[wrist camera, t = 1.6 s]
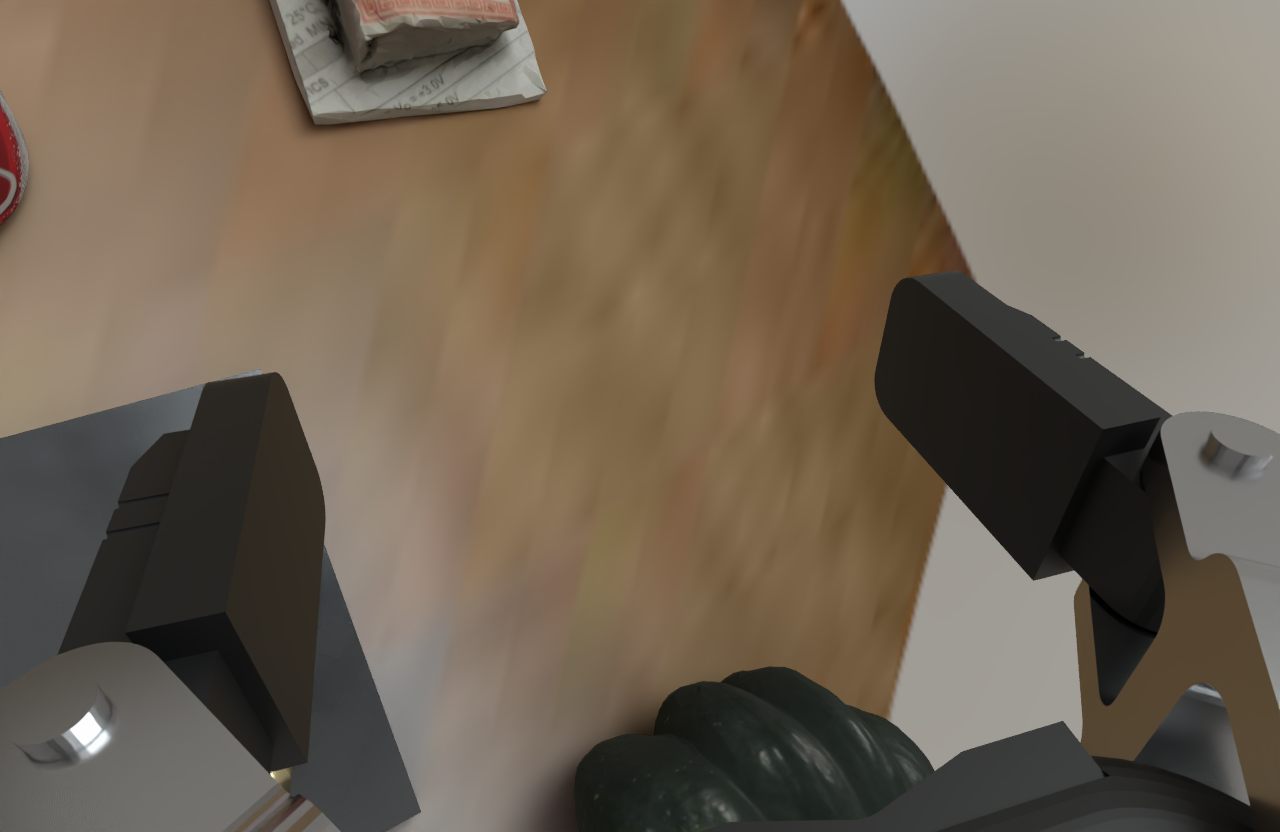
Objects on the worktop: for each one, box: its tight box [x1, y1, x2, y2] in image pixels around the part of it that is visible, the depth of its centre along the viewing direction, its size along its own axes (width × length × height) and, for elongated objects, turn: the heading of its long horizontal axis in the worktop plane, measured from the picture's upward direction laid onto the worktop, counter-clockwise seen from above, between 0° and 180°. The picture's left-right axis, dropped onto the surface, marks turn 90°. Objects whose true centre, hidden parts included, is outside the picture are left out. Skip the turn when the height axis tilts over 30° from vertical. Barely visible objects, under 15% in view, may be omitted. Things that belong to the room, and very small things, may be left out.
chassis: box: [0, 369, 421, 832], centre depth 23 cm, size 17×17×4 cm
